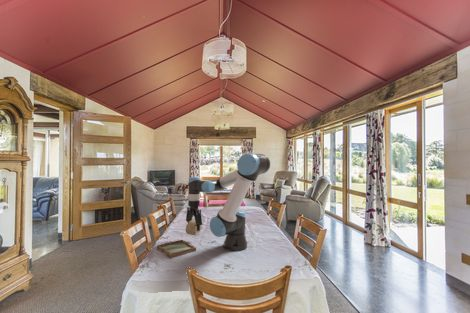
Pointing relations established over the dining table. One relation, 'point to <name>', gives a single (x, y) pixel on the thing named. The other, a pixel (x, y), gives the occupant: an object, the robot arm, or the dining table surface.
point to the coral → (191, 227)
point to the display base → (176, 248)
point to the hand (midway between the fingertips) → (193, 234)
